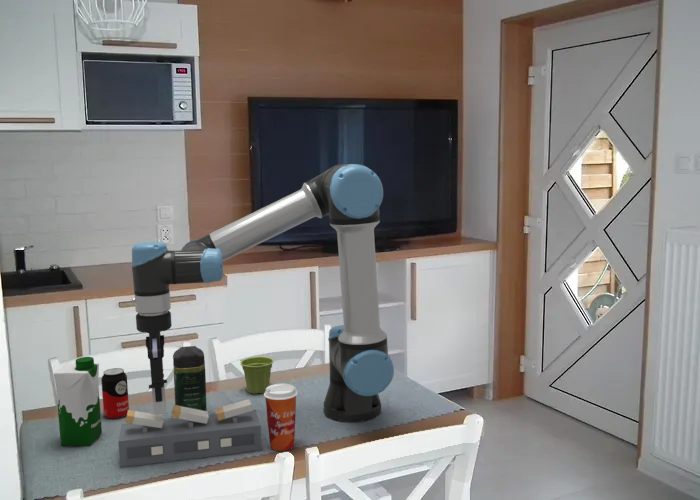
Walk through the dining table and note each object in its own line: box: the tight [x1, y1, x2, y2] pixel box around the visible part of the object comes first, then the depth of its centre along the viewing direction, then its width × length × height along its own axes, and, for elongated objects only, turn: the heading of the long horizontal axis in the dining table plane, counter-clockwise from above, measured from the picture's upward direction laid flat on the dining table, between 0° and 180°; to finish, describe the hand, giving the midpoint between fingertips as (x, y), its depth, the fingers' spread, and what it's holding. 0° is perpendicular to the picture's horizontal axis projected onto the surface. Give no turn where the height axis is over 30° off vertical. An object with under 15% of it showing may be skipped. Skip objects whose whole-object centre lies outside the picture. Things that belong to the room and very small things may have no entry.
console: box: [117, 409, 263, 468], centre depth 159 cm, size 31×10×7 cm, turn 104°
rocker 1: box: [124, 409, 164, 428], centre depth 156 cm, size 8×4×2 cm, turn 105°
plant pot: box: [239, 356, 275, 395], centre depth 197 cm, size 9×9×9 cm
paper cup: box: [263, 383, 299, 452], centre depth 160 cm, size 8×8×14 cm
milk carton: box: [52, 356, 103, 447], centre depth 164 cm, size 9×9×20 cm
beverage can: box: [100, 367, 130, 420], centre depth 180 cm, size 6×6×12 cm
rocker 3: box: [215, 399, 254, 421], centre depth 161 cm, size 8×4×2 cm, turn 104°
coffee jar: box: [172, 345, 208, 411], centre depth 177 cm, size 10×8×19 cm
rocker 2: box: [171, 404, 209, 424], centre depth 158 cm, size 8×4×2 cm, turn 105°
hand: (159, 413), depth 157 cm, fingers closed
